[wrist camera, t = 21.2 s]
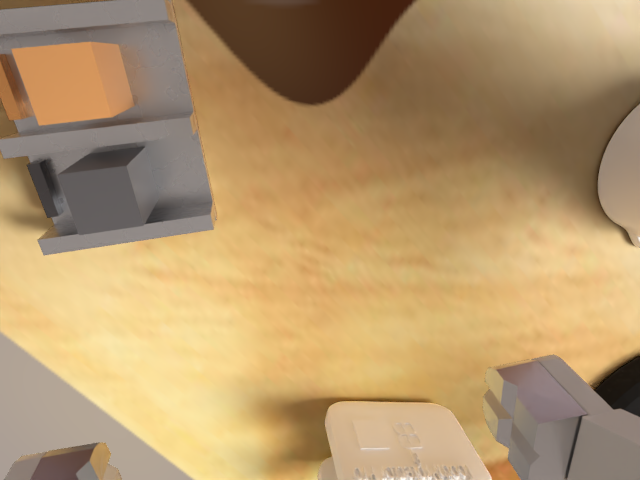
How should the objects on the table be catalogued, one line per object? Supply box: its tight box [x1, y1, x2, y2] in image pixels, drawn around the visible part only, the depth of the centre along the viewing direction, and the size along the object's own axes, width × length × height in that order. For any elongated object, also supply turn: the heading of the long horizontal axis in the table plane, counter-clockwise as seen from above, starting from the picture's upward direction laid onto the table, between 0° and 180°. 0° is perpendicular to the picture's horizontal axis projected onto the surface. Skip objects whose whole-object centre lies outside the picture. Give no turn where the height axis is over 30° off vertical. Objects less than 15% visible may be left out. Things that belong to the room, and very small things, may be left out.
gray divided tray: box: [0, 0, 217, 255], centre depth 29 cm, size 12×16×4 cm
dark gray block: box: [57, 147, 159, 235], centre depth 29 cm, size 4×4×6 cm
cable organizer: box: [318, 401, 492, 480], centre depth 44 cm, size 15×11×12 cm
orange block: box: [11, 42, 135, 126], centre depth 26 cm, size 4×4×6 cm
